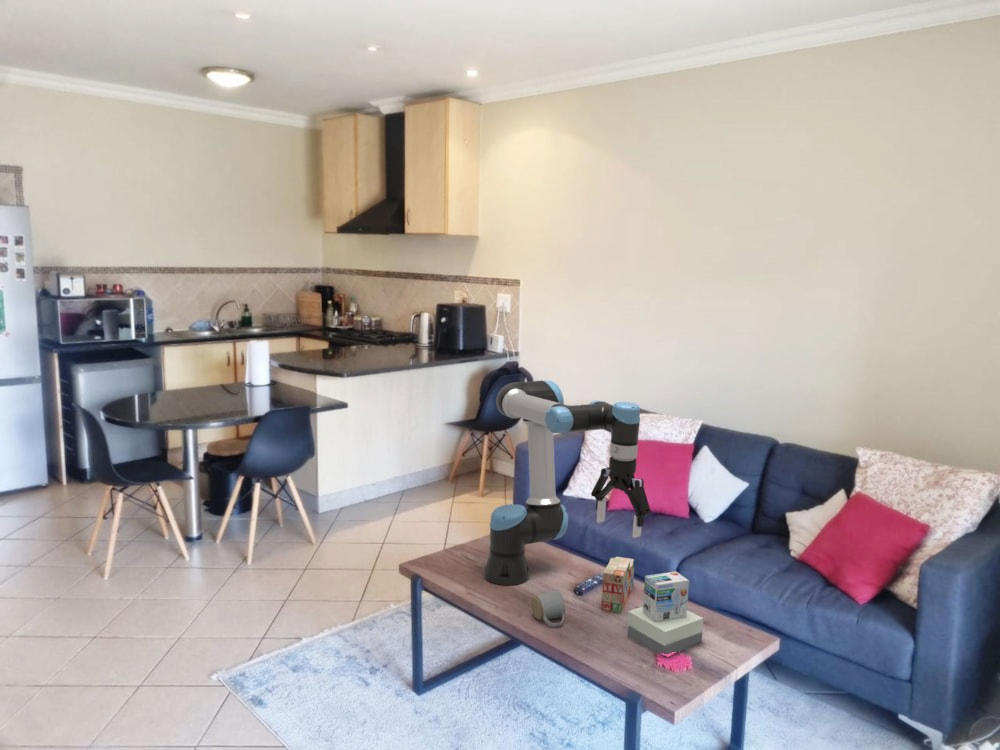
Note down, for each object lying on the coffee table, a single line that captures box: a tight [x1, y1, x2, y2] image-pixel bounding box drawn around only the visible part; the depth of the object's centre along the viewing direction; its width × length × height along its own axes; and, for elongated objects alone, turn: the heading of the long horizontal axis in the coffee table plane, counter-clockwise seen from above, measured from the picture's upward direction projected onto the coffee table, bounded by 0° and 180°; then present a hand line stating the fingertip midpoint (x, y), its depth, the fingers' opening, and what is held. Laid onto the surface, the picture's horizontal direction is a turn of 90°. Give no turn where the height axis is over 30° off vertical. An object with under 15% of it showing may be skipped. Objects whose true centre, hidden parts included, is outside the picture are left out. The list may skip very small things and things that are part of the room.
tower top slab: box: [627, 606, 704, 646], centre depth 209 cm, size 14×15×4 cm
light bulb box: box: [642, 571, 690, 621], centre depth 208 cm, size 11×7×11 cm, turn 111°
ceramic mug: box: [530, 589, 566, 628], centre depth 219 cm, size 11×8×8 cm
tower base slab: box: [627, 625, 703, 654], centre depth 209 cm, size 14×15×4 cm
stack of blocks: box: [601, 556, 635, 614], centre depth 235 cm, size 21×6×12 cm, turn 161°
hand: (618, 529), depth 214 cm, fingers open, 13 cm apart
